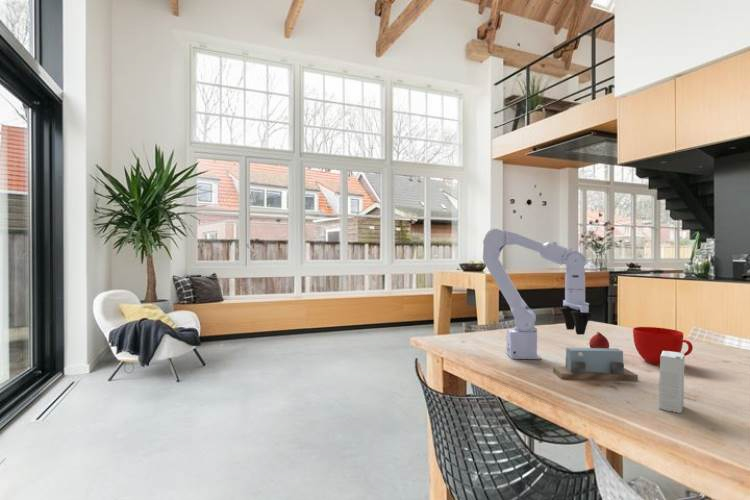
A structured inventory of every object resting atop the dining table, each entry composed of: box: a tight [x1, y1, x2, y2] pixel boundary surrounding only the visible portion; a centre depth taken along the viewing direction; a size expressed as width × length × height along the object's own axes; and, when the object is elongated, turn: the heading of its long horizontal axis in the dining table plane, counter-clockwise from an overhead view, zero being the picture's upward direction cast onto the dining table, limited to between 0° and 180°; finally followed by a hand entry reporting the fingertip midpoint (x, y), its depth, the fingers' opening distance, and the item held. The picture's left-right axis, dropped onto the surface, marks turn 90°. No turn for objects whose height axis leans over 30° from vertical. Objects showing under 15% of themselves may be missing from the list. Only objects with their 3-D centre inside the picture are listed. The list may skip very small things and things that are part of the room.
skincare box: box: [658, 351, 686, 414], centre depth 89 cm, size 6×4×12 cm
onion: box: [588, 331, 610, 348], centre depth 134 cm, size 6×6×8 cm
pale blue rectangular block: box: [565, 347, 624, 373], centre depth 111 cm, size 14×4×6 cm, turn 85°
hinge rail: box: [552, 362, 639, 382], centre depth 112 cm, size 20×6×4 cm, turn 85°
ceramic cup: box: [632, 326, 694, 366], centre depth 123 cm, size 13×17×10 cm
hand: (575, 331), depth 127 cm, fingers open, 7 cm apart
